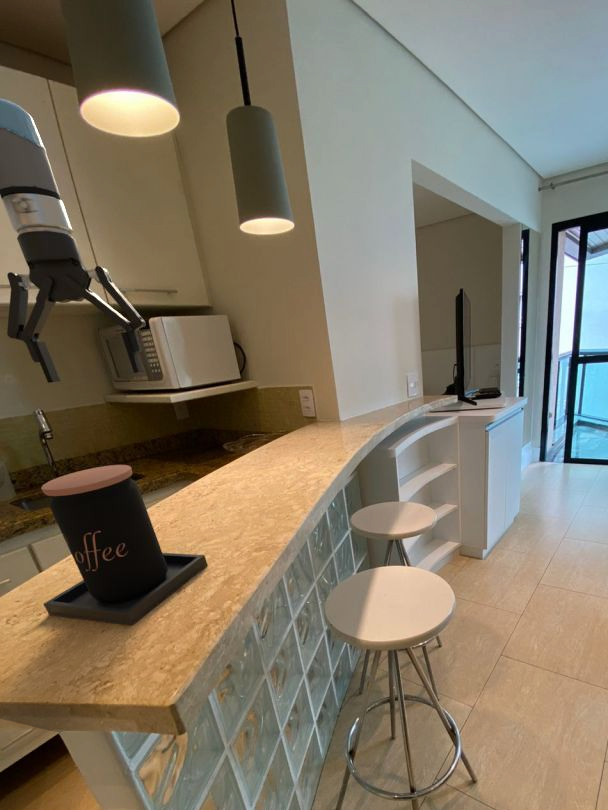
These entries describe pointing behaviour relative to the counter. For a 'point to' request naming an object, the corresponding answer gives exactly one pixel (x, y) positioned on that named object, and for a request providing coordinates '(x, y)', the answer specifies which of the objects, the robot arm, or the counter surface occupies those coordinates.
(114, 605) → the black tray
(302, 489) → the counter surface
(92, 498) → the coffee jar
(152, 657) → the counter surface
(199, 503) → the counter surface
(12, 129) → the robot arm
